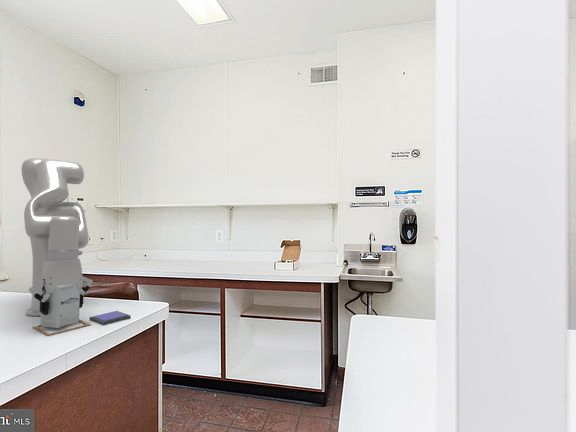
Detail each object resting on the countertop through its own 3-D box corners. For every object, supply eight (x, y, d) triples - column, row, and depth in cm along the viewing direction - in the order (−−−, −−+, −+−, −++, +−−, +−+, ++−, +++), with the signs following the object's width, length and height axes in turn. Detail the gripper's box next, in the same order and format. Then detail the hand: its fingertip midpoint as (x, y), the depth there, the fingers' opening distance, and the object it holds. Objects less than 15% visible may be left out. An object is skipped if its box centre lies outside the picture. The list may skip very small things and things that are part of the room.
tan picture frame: (32, 328, 97) (32, 326, 97) (74, 318, 107) (74, 317, 107) (47, 336, 91) (47, 334, 91) (90, 325, 100) (90, 324, 100)
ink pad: (89, 320, 105) (89, 316, 105) (116, 313, 113) (116, 310, 113) (103, 325, 100) (103, 321, 100) (130, 318, 108) (130, 314, 108)
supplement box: (57, 328, 95) (58, 286, 95) (39, 326, 97) (40, 284, 97) (80, 321, 102) (80, 282, 102) (62, 318, 104) (63, 280, 104)
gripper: (87, 252, 108) (86, 302, 108) (24, 257, 94) (23, 315, 94) (98, 254, 104) (97, 306, 104) (34, 259, 90) (33, 320, 90)
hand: (62, 310), depth 99 cm, fingers closed on supplement box, 8 cm apart
